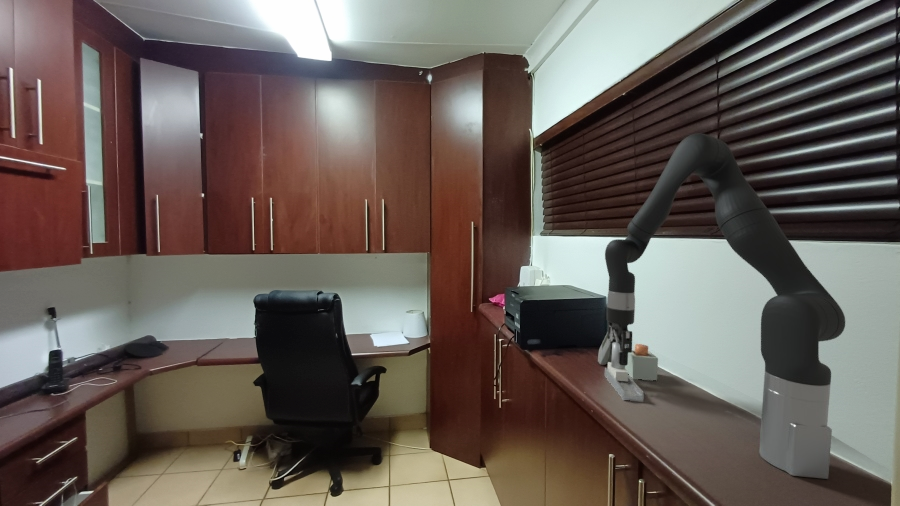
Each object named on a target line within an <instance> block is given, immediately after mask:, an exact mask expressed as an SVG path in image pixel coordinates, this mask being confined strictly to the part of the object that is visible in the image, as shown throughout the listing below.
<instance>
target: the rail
mask: <svg viewBox="0 0 900 506" xmlns="http://www.w3.org/2000/svg"><path fill="white" fill-rule="evenodd" d="M604 377H605V379H606V378H607V379H606V380H607V381H608V382H609V384H610V383H611V384H610V385H611V387H614V388H613V389H614V390H615V392H616V391H617V392H618V393H617V392H616V393H617V394H618V395H620V396H621V397H620V398H621V399H622V401H624V400H630V401H629V402H636V403H637V402H639V403H642V402H644V394H645V392H644V391H643V389H642V388H641V387H640V386H639V385H638V384H637V383H636V382H635V381H634V379H632V378H631V377H630V376H629V375H628V382H627V381H617V380H616V378H615V377H614V376H613V375H612V374H611V372H610V371H609V370H608V367H604Z"/></svg>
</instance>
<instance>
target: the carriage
mask: <svg viewBox="0 0 900 506" xmlns="http://www.w3.org/2000/svg"><path fill="white" fill-rule="evenodd" d="M621 346H622V345H621ZM607 369H608V370H609V371H610V372H611V374H612V375H613V376H614V377H615V378H616V380H617V381H627V382H628V376H629V375H628V374H629V372H628V371H627V370H626V369H625V365H620V364H619V346H618V345H617V344H616V342H613V343H612V361H611V362H608V364H607Z"/></svg>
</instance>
